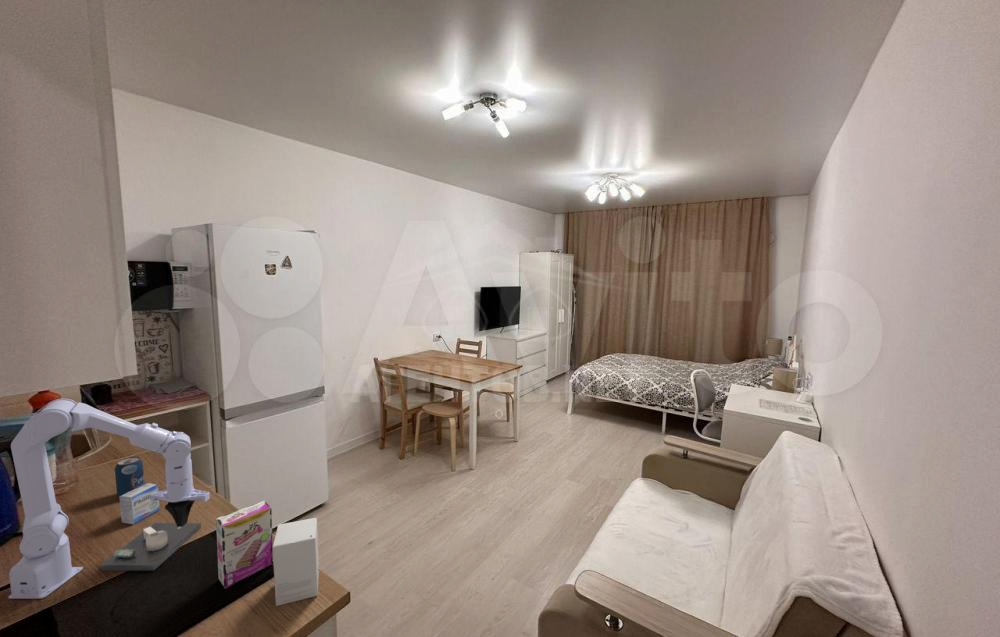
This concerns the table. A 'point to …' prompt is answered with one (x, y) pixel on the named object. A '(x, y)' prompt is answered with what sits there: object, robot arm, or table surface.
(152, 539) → the white long bulbous piece
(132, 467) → the soda can
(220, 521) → the candy bar box
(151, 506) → the medicine box
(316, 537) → the supplement box
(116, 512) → the table surface
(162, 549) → the base plate
